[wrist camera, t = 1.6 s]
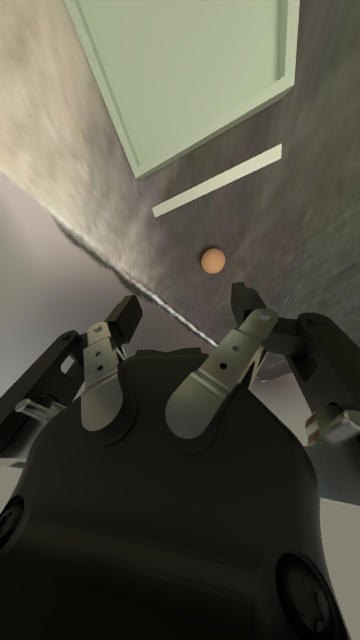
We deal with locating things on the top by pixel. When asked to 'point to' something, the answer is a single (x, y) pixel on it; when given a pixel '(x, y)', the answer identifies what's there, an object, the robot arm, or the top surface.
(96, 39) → the tray
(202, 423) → the robot arm
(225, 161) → the top surface
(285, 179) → the top surface
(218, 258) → the ball
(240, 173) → the strip
